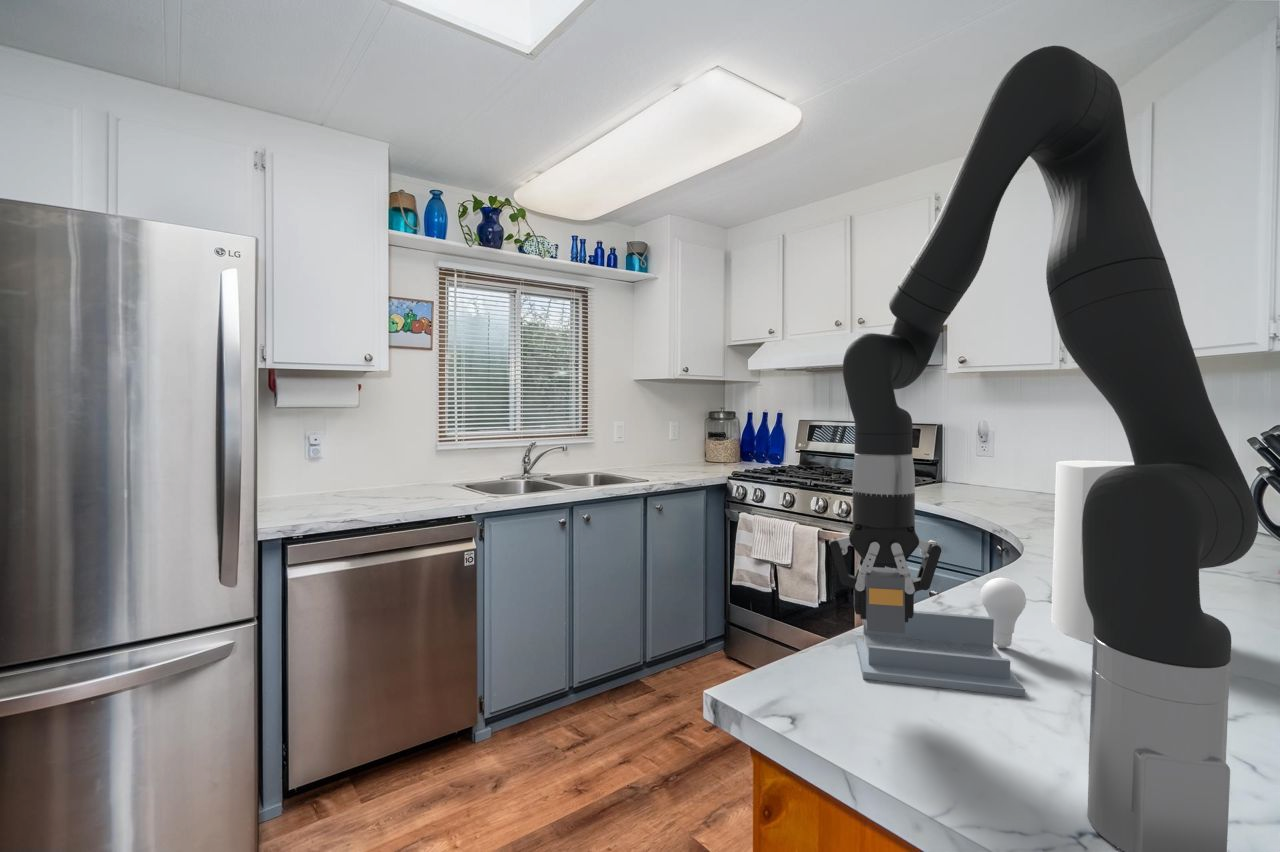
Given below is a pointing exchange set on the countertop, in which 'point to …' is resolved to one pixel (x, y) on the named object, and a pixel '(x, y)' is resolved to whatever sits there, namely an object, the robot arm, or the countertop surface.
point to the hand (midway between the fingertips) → (883, 618)
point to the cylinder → (1073, 545)
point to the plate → (929, 645)
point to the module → (885, 601)
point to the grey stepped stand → (941, 656)
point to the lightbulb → (1003, 607)
